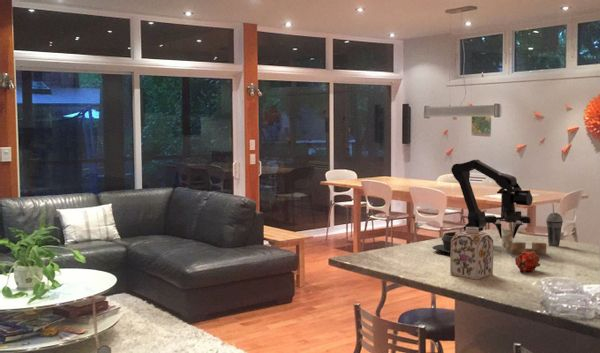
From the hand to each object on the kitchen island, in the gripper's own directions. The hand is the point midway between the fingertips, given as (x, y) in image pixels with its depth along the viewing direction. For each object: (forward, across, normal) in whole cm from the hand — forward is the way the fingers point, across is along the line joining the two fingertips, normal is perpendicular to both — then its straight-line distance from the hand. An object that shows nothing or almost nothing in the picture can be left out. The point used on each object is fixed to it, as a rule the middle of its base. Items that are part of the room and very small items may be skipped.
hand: (507, 238), depth 282 cm
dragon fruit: (+5, -2, -44) cm, 44 cm away
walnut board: (+4, +6, -14) cm, 16 cm away
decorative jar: (+5, -24, -52) cm, 58 cm away
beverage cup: (+5, +23, +9) cm, 25 cm away
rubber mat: (+5, +6, -14) cm, 16 cm away
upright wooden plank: (+5, 0, 0) cm, 5 cm away
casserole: (+5, -22, -11) cm, 25 cm away
